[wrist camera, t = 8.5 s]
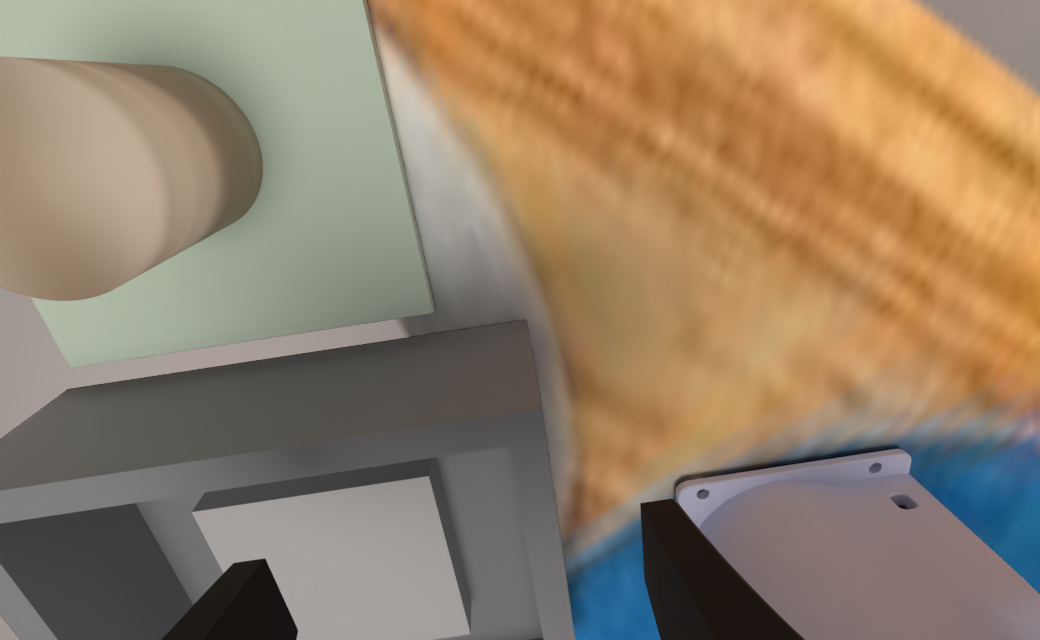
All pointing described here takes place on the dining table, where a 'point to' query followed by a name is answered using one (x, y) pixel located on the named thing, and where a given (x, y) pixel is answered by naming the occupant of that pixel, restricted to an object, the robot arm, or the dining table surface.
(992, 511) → the dining table surface
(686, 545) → the robot arm
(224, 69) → the mat
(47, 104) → the cylinder
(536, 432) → the box
